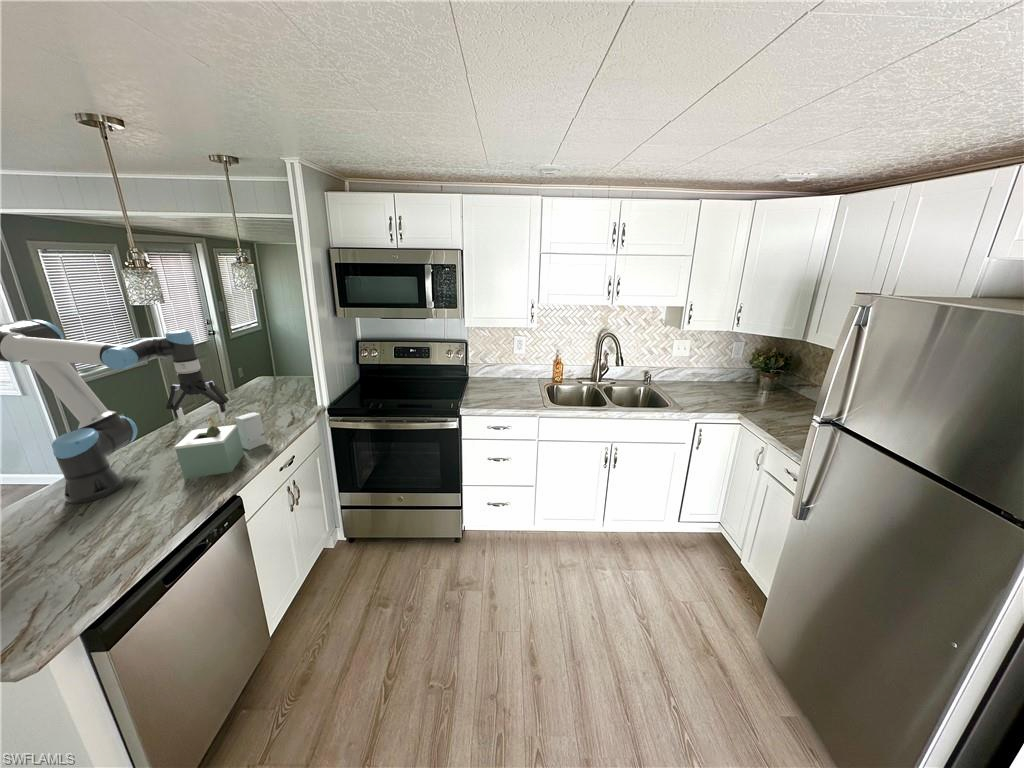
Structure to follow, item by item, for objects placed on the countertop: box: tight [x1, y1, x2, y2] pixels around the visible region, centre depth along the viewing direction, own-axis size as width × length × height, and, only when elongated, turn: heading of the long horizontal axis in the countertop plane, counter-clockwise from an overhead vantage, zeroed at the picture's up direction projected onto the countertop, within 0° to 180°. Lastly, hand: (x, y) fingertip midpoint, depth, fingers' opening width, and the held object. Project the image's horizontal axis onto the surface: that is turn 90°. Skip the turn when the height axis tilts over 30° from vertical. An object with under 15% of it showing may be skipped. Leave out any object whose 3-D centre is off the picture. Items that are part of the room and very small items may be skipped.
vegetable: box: [207, 417, 220, 438], centre depth 163 cm, size 4×4×20 cm
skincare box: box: [234, 411, 267, 451], centre depth 181 cm, size 8×6×15 cm
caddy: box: [174, 424, 245, 480], centre depth 164 cm, size 16×16×14 cm
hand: (203, 422), depth 160 cm, fingers open, 13 cm apart
